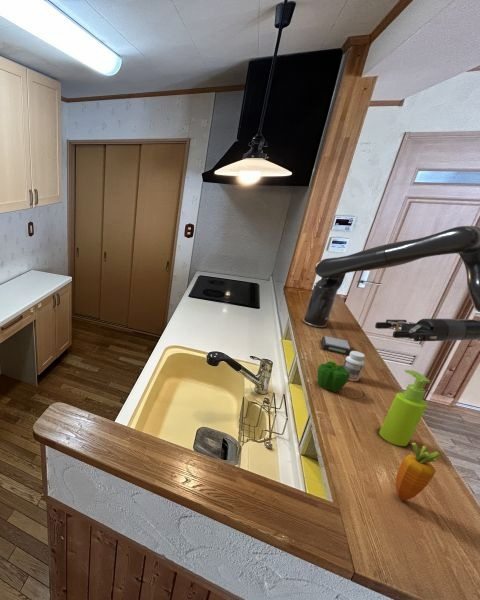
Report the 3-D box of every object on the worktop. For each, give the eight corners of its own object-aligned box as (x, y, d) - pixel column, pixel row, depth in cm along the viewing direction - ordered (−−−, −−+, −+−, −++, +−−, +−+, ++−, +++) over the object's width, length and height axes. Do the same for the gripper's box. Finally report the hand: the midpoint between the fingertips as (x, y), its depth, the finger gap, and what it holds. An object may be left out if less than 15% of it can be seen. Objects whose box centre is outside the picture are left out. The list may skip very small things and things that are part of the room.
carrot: (380, 489, 74) (405, 439, 69) (399, 488, 75) (426, 438, 69) (402, 510, 70) (430, 458, 64) (422, 509, 70) (453, 457, 65)
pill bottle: (344, 371, 120) (353, 348, 116) (361, 379, 115) (371, 355, 112) (336, 375, 118) (345, 351, 114) (353, 383, 113) (362, 359, 110)
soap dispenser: (393, 428, 93) (420, 369, 86) (413, 447, 86) (445, 384, 79) (371, 426, 93) (396, 367, 86) (390, 445, 87) (419, 383, 80)
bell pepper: (344, 386, 111) (354, 361, 107) (342, 397, 105) (351, 371, 102) (315, 376, 116) (324, 352, 113) (311, 386, 111) (320, 361, 107)
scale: (321, 341, 143) (323, 335, 141) (346, 346, 138) (348, 340, 137) (322, 349, 135) (324, 343, 134) (349, 355, 131) (352, 349, 130)
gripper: (425, 312, 114) (372, 313, 117) (463, 326, 101) (402, 327, 104) (420, 332, 116) (368, 332, 119) (457, 348, 103) (397, 348, 106)
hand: (384, 329), depth 111 cm, fingers open, 8 cm apart
